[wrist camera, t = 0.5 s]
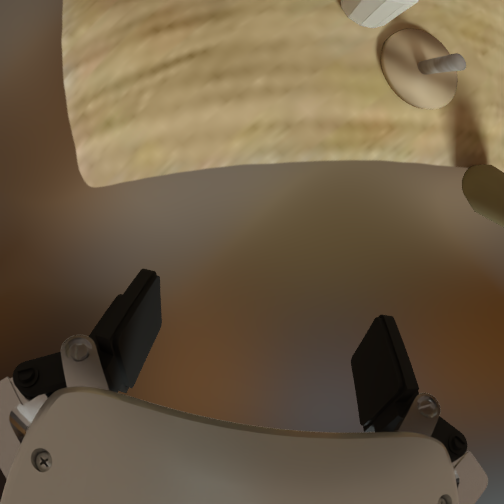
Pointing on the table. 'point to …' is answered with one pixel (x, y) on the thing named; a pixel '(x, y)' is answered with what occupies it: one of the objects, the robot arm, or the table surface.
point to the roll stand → (420, 68)
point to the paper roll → (374, 10)
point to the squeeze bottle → (485, 191)
